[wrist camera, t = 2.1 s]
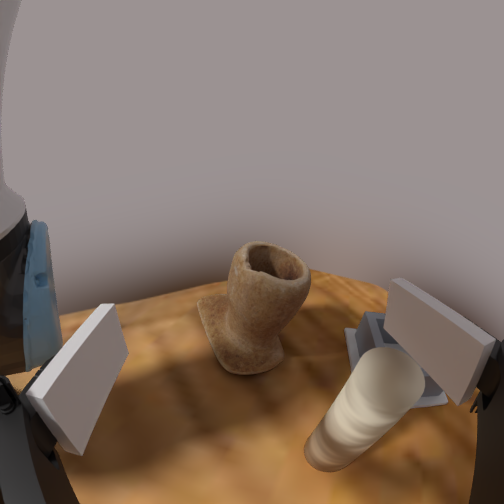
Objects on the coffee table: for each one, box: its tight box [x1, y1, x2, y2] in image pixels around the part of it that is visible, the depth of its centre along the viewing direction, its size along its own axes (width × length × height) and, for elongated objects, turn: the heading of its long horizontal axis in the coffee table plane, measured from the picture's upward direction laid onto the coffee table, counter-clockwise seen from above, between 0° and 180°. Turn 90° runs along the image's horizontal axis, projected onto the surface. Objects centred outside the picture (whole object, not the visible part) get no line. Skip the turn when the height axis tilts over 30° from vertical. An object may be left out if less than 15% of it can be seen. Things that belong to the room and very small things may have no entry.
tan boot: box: [197, 241, 311, 375], centre depth 36 cm, size 15×12×15 cm
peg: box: [304, 347, 425, 472], centre depth 20 cm, size 6×6×15 cm
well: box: [344, 311, 448, 408], centre depth 34 cm, size 16×16×6 cm
